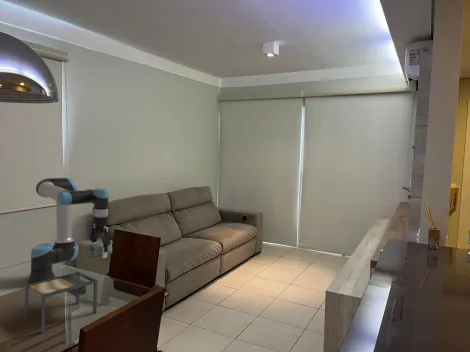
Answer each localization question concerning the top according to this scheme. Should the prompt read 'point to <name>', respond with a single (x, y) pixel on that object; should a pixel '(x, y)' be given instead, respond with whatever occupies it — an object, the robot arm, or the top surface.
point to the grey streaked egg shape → (97, 250)
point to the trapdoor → (60, 286)
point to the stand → (78, 274)
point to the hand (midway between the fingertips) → (99, 255)
